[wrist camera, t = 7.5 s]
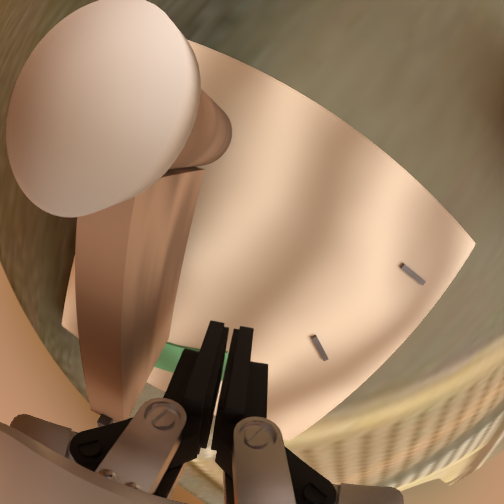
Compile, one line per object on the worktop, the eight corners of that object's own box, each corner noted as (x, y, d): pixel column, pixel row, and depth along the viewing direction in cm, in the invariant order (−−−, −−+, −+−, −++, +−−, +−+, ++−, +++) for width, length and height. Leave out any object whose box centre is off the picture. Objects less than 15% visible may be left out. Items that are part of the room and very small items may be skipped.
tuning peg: (172, 86, 11) (42, 14, 2) (254, 103, 11) (222, -5, 3) (126, 353, 16) (64, 455, 8) (182, 374, 16) (140, 491, 8)
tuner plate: (71, 315, 18) (60, 326, 16) (184, 46, 11) (175, 34, 10) (288, 427, 20) (289, 443, 18) (462, 236, 14) (477, 245, 12)
